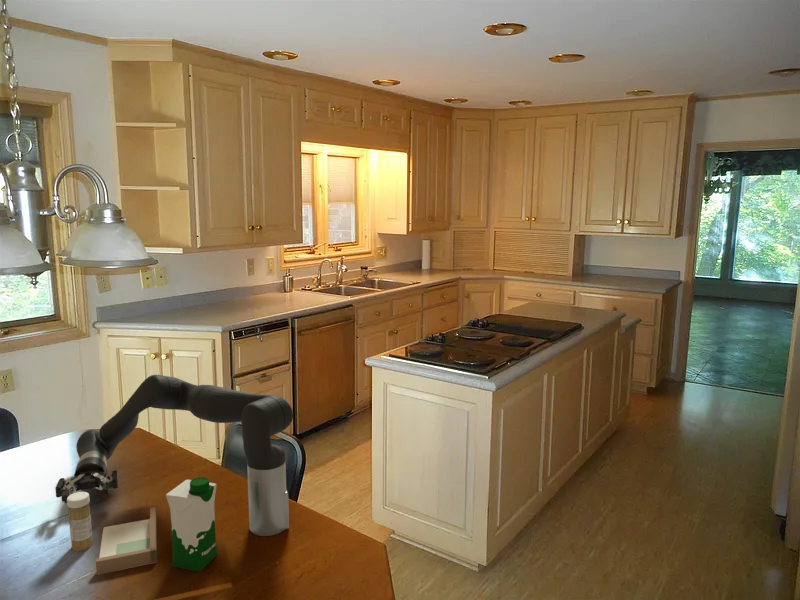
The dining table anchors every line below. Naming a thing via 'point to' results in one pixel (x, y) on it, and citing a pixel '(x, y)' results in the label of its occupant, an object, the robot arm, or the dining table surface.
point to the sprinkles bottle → (80, 521)
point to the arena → (122, 535)
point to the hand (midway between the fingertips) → (85, 496)
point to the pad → (133, 546)
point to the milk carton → (193, 524)
